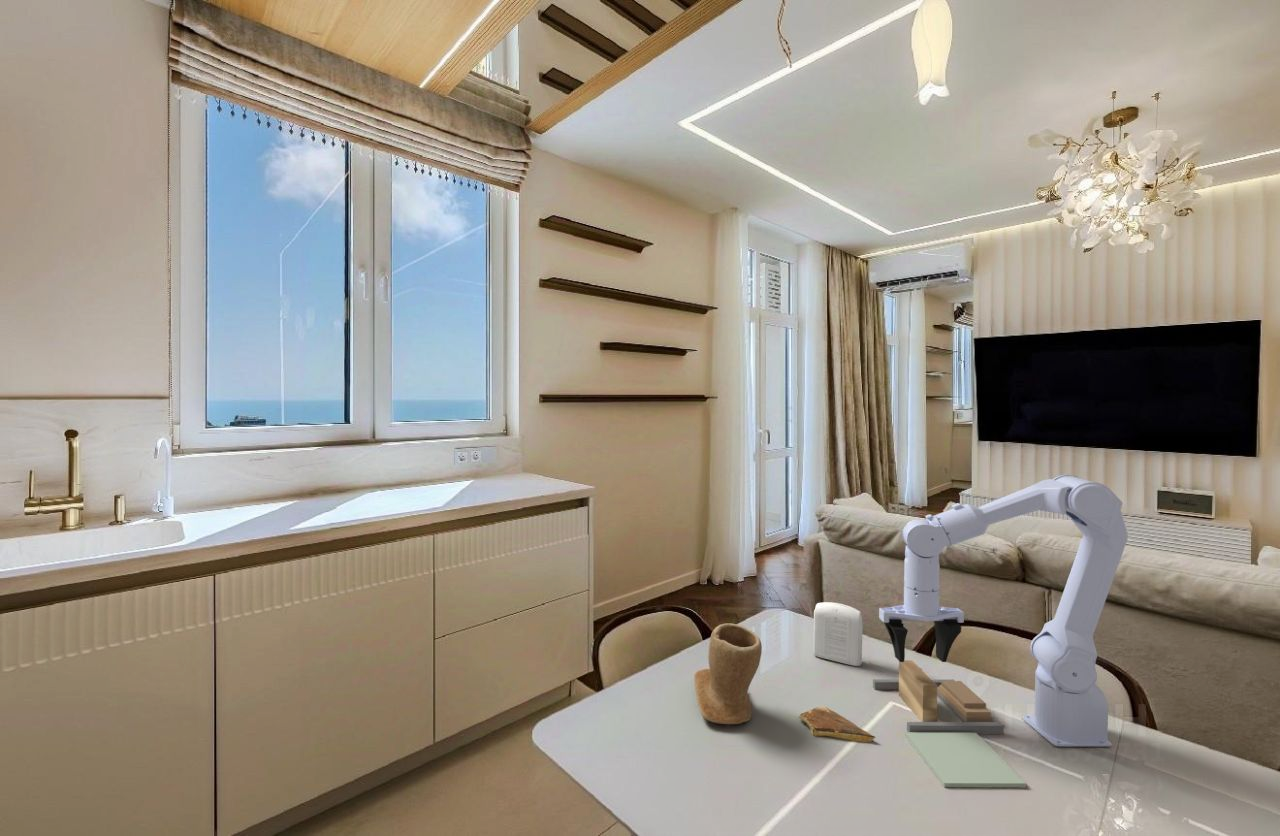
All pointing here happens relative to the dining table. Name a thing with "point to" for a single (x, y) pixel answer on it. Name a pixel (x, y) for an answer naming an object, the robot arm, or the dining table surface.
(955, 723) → the offcut rack
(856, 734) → the shard
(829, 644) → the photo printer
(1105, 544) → the robot arm
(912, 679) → the oak block
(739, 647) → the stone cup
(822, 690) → the dining table surface
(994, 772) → the sage mat
